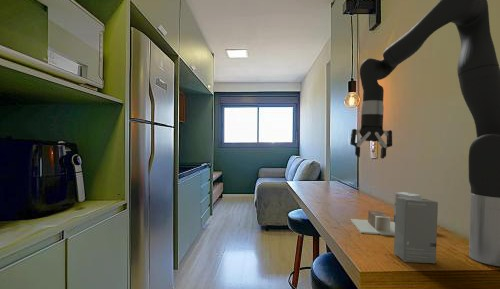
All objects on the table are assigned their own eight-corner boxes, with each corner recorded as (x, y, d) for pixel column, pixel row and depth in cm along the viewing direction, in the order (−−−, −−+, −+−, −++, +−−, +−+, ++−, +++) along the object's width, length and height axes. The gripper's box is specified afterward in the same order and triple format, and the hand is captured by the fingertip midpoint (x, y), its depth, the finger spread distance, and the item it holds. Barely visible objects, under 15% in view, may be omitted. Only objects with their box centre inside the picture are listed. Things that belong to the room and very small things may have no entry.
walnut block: (380, 211, 114) (390, 217, 103) (380, 223, 114) (390, 231, 103) (368, 210, 114) (376, 217, 103) (368, 222, 114) (376, 230, 103)
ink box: (393, 221, 119) (394, 192, 119) (403, 221, 121) (404, 191, 121) (410, 227, 111) (411, 195, 111) (421, 226, 113) (422, 195, 113)
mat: (393, 223, 117) (393, 221, 117) (411, 236, 99) (411, 235, 99) (350, 220, 119) (350, 218, 119) (360, 233, 101) (360, 231, 101)
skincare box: (403, 262, 76) (405, 200, 76) (392, 252, 83) (393, 195, 83) (438, 264, 75) (440, 201, 75) (423, 254, 82) (425, 196, 83)
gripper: (354, 112, 108) (352, 157, 109) (396, 113, 106) (393, 159, 107) (350, 114, 116) (348, 156, 116) (389, 115, 114) (387, 158, 114)
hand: (370, 157), depth 111 cm, fingers open, 8 cm apart
